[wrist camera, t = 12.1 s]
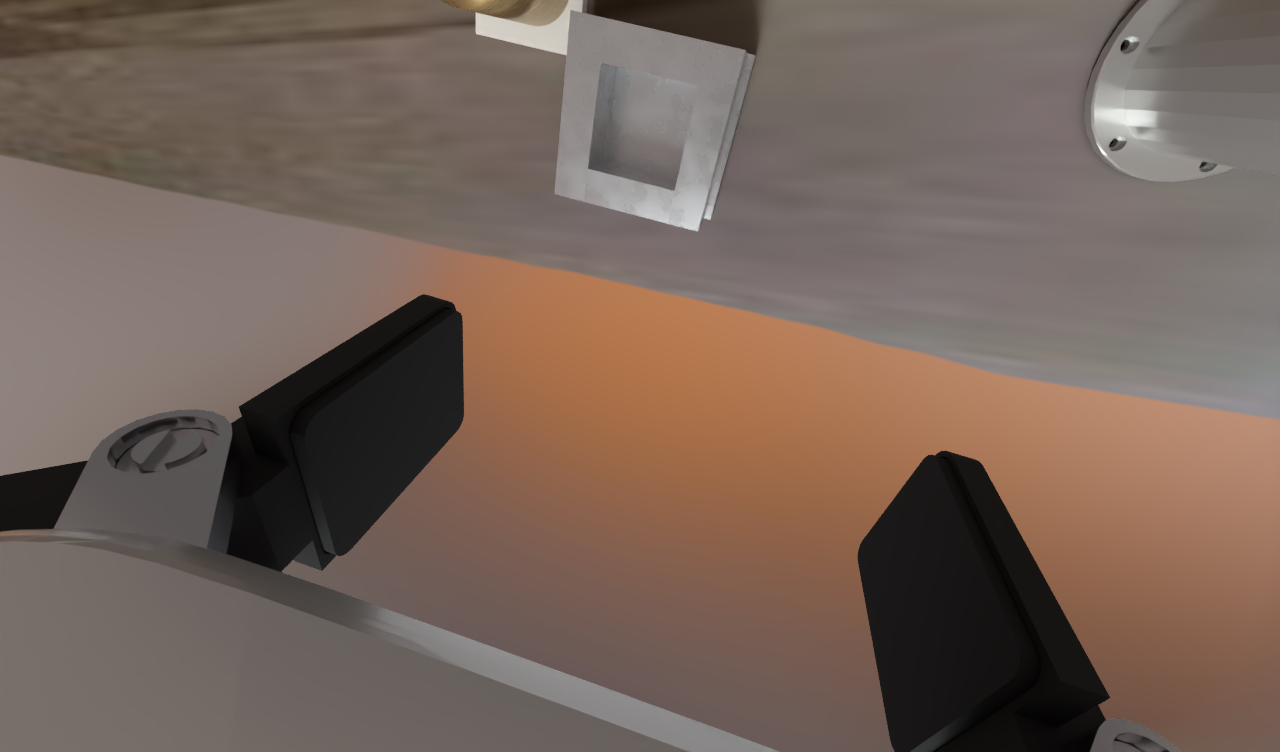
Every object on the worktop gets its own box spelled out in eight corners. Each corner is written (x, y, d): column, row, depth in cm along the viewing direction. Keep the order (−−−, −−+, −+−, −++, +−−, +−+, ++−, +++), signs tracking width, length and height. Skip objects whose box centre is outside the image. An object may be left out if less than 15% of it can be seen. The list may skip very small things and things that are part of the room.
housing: (755, 56, 33) (753, 51, 28) (712, 214, 39) (704, 233, 34) (592, 18, 34) (562, 8, 29) (575, 178, 40) (548, 192, 35)
